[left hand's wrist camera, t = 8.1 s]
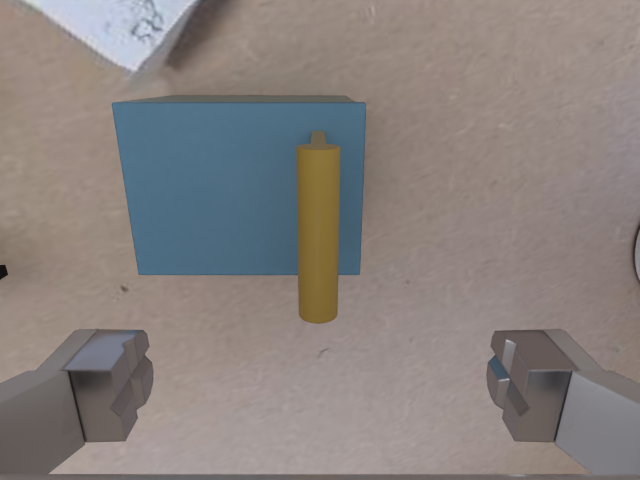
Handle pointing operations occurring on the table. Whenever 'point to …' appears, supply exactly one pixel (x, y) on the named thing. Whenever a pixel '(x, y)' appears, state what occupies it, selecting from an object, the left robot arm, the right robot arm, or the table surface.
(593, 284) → the table surface
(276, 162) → the lid
